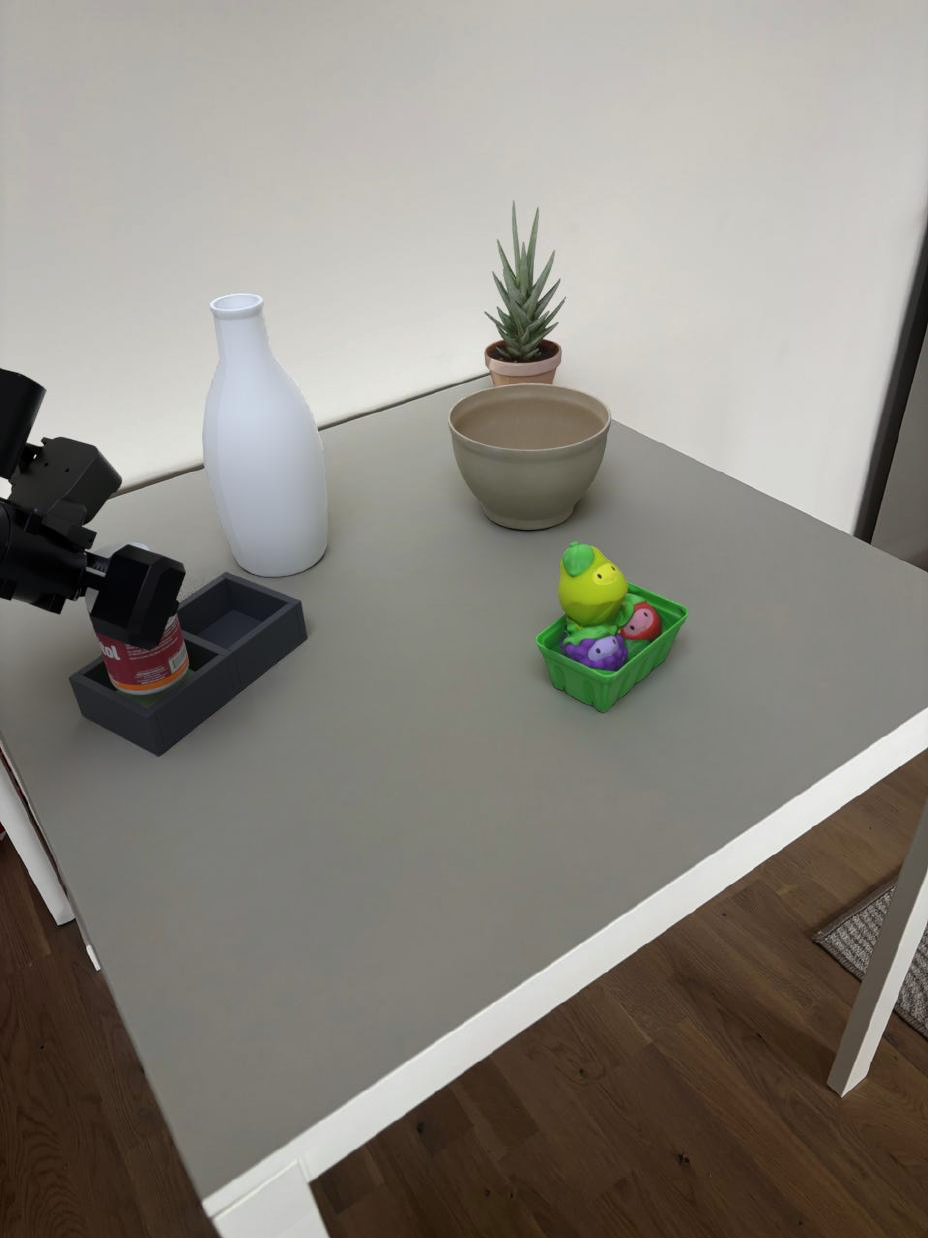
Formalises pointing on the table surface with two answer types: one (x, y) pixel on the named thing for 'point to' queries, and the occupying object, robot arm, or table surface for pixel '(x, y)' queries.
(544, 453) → the planter bowl
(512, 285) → the potted plant
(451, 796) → the table surface
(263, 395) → the bottle
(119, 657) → the pill bottle
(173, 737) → the tray
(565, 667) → the fruit basket
